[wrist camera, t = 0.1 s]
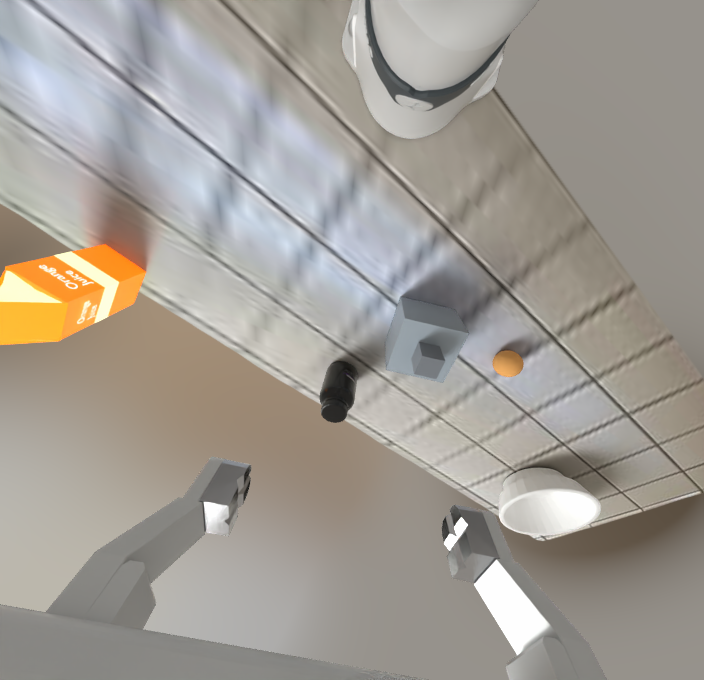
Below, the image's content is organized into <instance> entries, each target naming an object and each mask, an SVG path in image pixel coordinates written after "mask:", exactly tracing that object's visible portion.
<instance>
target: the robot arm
mask: <svg viewBox="0 0 704 680" xmlns="http://www.w3.org/2000/svg"><path fill="white" fill-rule="evenodd" d="M538 1H539V0H353V1H352V4H351V8H350V11H349V15H348V19H347V22H346V26H345V30H344V33H343V37H342V50H343V53H344V56H345V58H346V60H347V61H348V63H349V64H350V66H351V67H352V68H353V70H354V71H355V73H356V74H357V76H358V79H359V82H360V85H361V89H362V92H363V96H364V99H365V102H366V104H367V106H368V108H369V110H370V112H371V114H372V115H373V117H374V118H375V120H376V121H377V122H378V123H379V124H380V125H381V126H382V127H383V128H384V129H385V130H387V131H388V132H390V133H392V134H393V135H396V136H399V137H402V138H409V139H414V138H422V137H425V136H428V135H431V134H433V133H435V132H437V131H439V130H440V129H442V128H443V127H444V126H446V125H447V124H448V123H449V122H450V121H451V120H453V118H454V117H455V116H456V115H457V114H458V113H459V112H460V111H461V110H462V109H463V108H464V107H465V106H466V105H468V104H470V103H472V102H474V101H476V100H478V99H480V98H482V97H484V96H485V95H487V94H488V93H489V92H490V91H491V90H492V88H493V87H494V86H495V84H496V82H497V79H498V74H499V70H500V65H501V63H502V60H503V58H504V55H503V52H504V48H505V43H506V41H507V39H508V37H509V36H510V34H511V32H512V31H513V30H514V29H515V28H516V27H517V26H518V24H519V23H520V22H521V21H522V20H523V19H524V18H525V17H526V16H527V14H528V13H529V12H530V11H531V10H532V8H533V7H534V6H535V5H536V3H537V2H538ZM250 472H251V465H249V464H244V463H240V462H234V461H230V460H226V459H221V458H216V457H211V458H210V459H209V460H208V461H207V463H206V464H205V466H204V467H203V468H202V470H201V471H200V473H199V475H198V476H197V477H196V479H195V480H194V482H193V483H192V485H191V486H190V488H189V490H188V491H187V492H186V494H185V495H184V497H183V498H177V499H175V500H174V501H172V502H171V503H169V504H168V505H166V506H165V507H163V508H162V509H160V510H159V511H157V512H156V513H154V514H152V515H151V516H149V517H148V518H146V519H145V520H143V521H142V522H140V523H139V524H137V525H136V526H134V527H133V528H131V529H130V530H128V531H126V532H125V533H123V534H122V535H120V536H119V537H118V538H116V539H114V540H113V541H111V542H110V543H108V544H106V545H105V546H103V547H102V548H100V549H99V550H97V551H96V552H95V553H94V554H93V555H92V556H91V558H90V559H89V560H88V561H87V562H86V564H85V565H84V566H83V567H82V569H81V570H80V571H79V572H78V573H77V575H76V576H75V577H74V578H73V579H72V581H71V582H70V583H69V584H68V586H67V587H66V588H65V589H64V590H63V592H62V593H61V594H60V595H59V597H58V598H57V599H56V600H55V601H54V602H53V604H52V605H51V606H50V607H49V609H48V610H47V611H46V612H41V611H34V610H29V609H23V608H18V607H12V606H6V605H1V604H0V680H426V679H421V678H416V677H410V676H404V675H398V674H392V673H387V672H381V671H376V670H370V669H365V668H359V667H353V666H348V665H342V664H336V663H330V662H325V661H319V660H313V659H308V658H302V657H296V656H291V655H285V654H279V653H274V652H268V651H262V650H257V649H251V648H245V647H239V646H234V645H228V644H222V643H217V642H211V641H205V640H199V639H194V638H188V637H183V636H177V635H170V634H166V633H160V632H154V631H148V630H143V628H144V626H145V624H146V622H147V620H148V618H149V616H150V614H151V613H152V611H153V609H154V607H155V605H156V603H155V597H154V594H153V591H152V587H151V583H152V582H153V581H154V580H155V579H156V578H157V577H158V576H160V575H161V574H162V573H163V572H164V571H165V570H166V569H167V568H168V567H169V566H171V565H172V564H173V563H174V562H175V561H176V560H177V559H178V558H179V557H180V556H181V555H183V554H184V553H185V552H186V551H187V550H188V549H189V548H190V547H191V546H192V545H194V544H195V543H196V542H197V541H198V540H199V539H200V538H201V537H202V536H203V535H204V534H205V532H206V533H212V534H219V535H225V536H229V535H230V532H231V530H232V528H233V526H234V524H235V521H236V519H237V517H238V508H239V507H240V506H241V505H243V503H244V501H245V499H246V496H247V493H248V490H249V487H250V481H251V480H250V479H251V478H250V476H249V474H250ZM450 513H451V514H450V515H447V516H446V517H445V518H444V520H443V524H442V536H443V541H444V544H445V545H446V546H447V548H448V549H449V553H448V555H447V559H448V563H449V567H450V572H451V576H452V578H453V579H457V580H462V581H466V582H471V583H475V584H474V586H475V587H476V588H477V590H478V592H479V593H480V595H481V597H482V598H483V600H484V602H485V603H486V605H487V606H488V608H489V610H490V611H491V613H492V615H493V616H494V618H495V619H496V621H497V623H498V624H499V626H500V628H501V629H502V631H503V632H504V634H505V636H506V637H507V639H508V640H509V642H510V644H511V646H512V647H513V649H514V650H515V652H516V653H517V656H516V657H514V658H513V659H511V660H510V661H509V662H508V663H507V665H506V671H507V674H508V678H509V680H607V678H606V677H605V675H604V673H603V671H602V669H601V667H600V665H599V663H598V661H597V659H596V657H595V655H594V653H593V651H592V649H591V647H590V645H589V643H588V642H587V641H586V640H585V639H584V637H583V636H582V635H581V634H580V633H579V632H578V631H577V629H576V628H575V627H574V626H573V625H572V624H571V623H570V621H569V620H568V619H567V618H566V617H565V616H564V615H563V613H562V612H561V611H560V610H559V609H558V608H557V607H556V605H555V604H554V603H553V602H552V601H551V600H550V599H549V597H548V596H547V595H546V594H545V593H544V592H543V590H542V589H540V587H539V586H538V585H537V584H536V582H535V581H534V580H533V579H532V578H531V577H530V576H529V575H528V573H527V572H526V571H525V570H524V569H523V568H522V566H521V565H520V564H519V563H516V562H514V559H513V557H512V555H511V552H510V550H509V548H508V545H507V543H506V541H505V538H504V536H503V533H502V531H501V528H500V526H499V524H498V521H497V519H496V517H495V515H494V514H493V513H492V512H490V511H484V510H478V509H475V508H470V507H464V506H458V505H453V506H452V507H451V509H450Z"/></svg>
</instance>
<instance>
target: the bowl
mask: <svg viewBox="0 0 704 680" xmlns="http://www.w3.org/2000/svg"><path fill="white" fill-rule="evenodd" d="M600 512H601V504H600V502H599V500H598V499H596V498H595V497H594V496H593V495H592V494H591V493H590V492H588V491H587V490H586V489H585V488H584V487H583V486H581V485H580V484H579V483H578V482H577V481H575V480H573V479H570V478H567V477H564V476H563V475H562V474H561V473H560V472H558V471H556V470H553V469H549V468H529V469H524V470H521V471H518V472H516V473H514V474H512V475H510V476H509V477H508V478H507V479H506V480H505V481H504V483H503V491H502V492H501V493H500V496H499V518H500V520H501V522H502V523H503V524H504V525H505V526H506V527H507V528H509V529H511V530H513V531H515V532H519V533H522V534H528V535H556V534H562V533H567V532H571V531H574V530H577V529H580V528H582V527H584V526H586V525H588V524H590V523H591V522H593V521H594V520H595V519H596V518H597V517H598V516H599V514H600Z"/></svg>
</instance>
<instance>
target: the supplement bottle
mask: <svg viewBox="0 0 704 680" xmlns="http://www.w3.org/2000/svg"><path fill="white" fill-rule="evenodd" d="M356 384H357V371H356V369H355V368H354V367H353V366H352V365H351V364H349V363H347V362H335V363H333V364H331V365H330V366H329V368H328V369H327V372H326V375H325V379H324V382H323V386H322V389H321V392H320V402H321V404H322V408H321V414H322V416H323V418H324V419H326V420H327V421H330V422H334V423H337V422H341V421H343V420H344V419H345V418H346V416H347V412H348V410H349V409H350V408H351V407H352V406H353V404H354V399H355V392H356Z"/></svg>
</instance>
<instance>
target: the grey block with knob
mask: <svg viewBox="0 0 704 680" xmlns="http://www.w3.org/2000/svg"><path fill="white" fill-rule="evenodd" d="M468 335H469V332H468V330H467V329H466V327H465V325H464V324H463V322H462V320H461V319H460V317H459V316H458V314H457V312H456V311H455V309H451V308H447V307H443V306H438V305H434V304H430V303H426V302H421V301H417V300H413V299H409V298H405V297H400V300H399V303H398V306H397V308H396V311H395V314H394V317H393V320H392V323H391V326H390V329H389V332H388V335H387V338H386V341H385V357H386V370H388V371H393V372H397V373H402V374H406V375H411V376H415V377H419V378H424V379H428V380H433V381H437V382H442V383H443V382H444V380H445V378H446V376H447V374H448V373H449V371H450V369H451V367H452V365H453V363H454V361H455V360H456V358H457V356H458V354H459V352H460V350H461V348H462V346H463V345H464V343H465V341H466V339H467V337H468Z"/></svg>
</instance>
